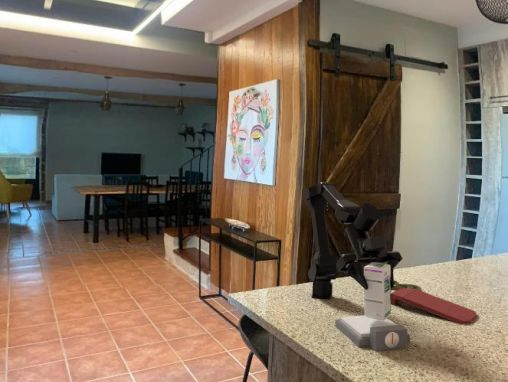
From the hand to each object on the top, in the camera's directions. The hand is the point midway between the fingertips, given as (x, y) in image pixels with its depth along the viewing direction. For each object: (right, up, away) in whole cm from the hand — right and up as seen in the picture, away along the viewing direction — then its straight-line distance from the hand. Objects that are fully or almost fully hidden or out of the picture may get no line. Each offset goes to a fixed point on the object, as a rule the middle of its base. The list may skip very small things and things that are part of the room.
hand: (380, 288), depth 117 cm
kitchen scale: (-2, -13, 0) cm, 13 cm away
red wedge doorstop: (+23, -13, +22) cm, 35 cm away
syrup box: (0, -8, +2) cm, 9 cm away
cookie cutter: (+20, -11, +45) cm, 50 cm away
